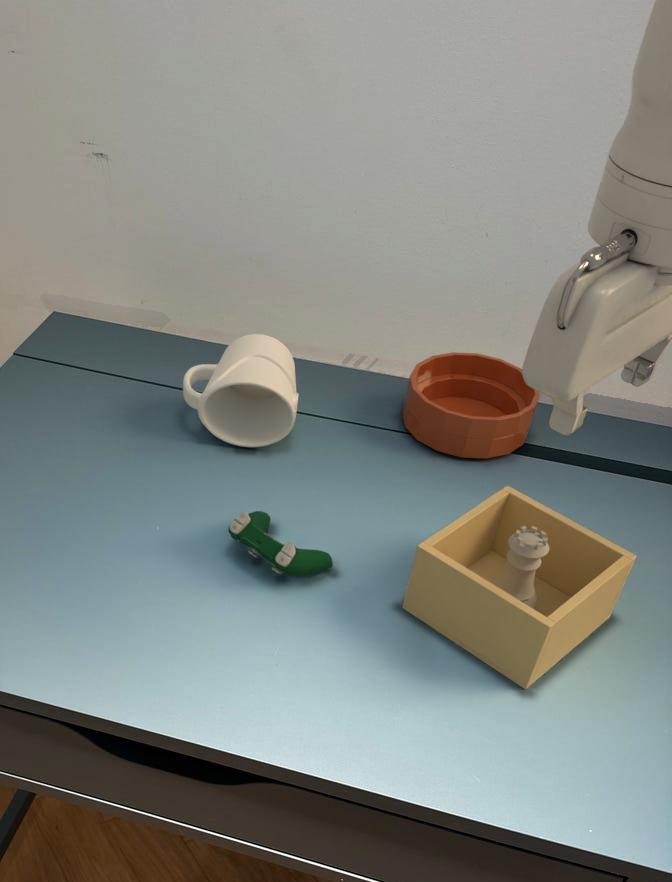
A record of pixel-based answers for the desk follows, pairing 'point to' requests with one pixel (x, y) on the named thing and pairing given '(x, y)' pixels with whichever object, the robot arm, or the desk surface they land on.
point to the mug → (247, 392)
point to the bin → (498, 613)
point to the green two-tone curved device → (277, 547)
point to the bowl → (469, 405)
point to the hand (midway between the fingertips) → (600, 403)
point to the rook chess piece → (523, 564)
